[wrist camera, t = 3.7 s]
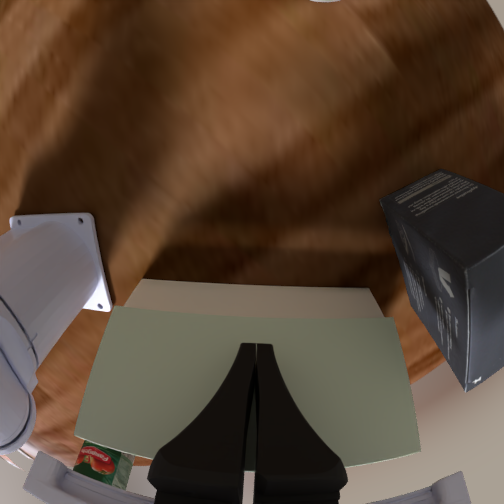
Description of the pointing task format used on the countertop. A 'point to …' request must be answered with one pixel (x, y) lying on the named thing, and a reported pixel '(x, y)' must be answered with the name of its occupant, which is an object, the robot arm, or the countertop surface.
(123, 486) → the canned tomato
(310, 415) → the lid
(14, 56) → the countertop surface
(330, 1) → the supplement bottle
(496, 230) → the box
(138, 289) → the keepsake box
